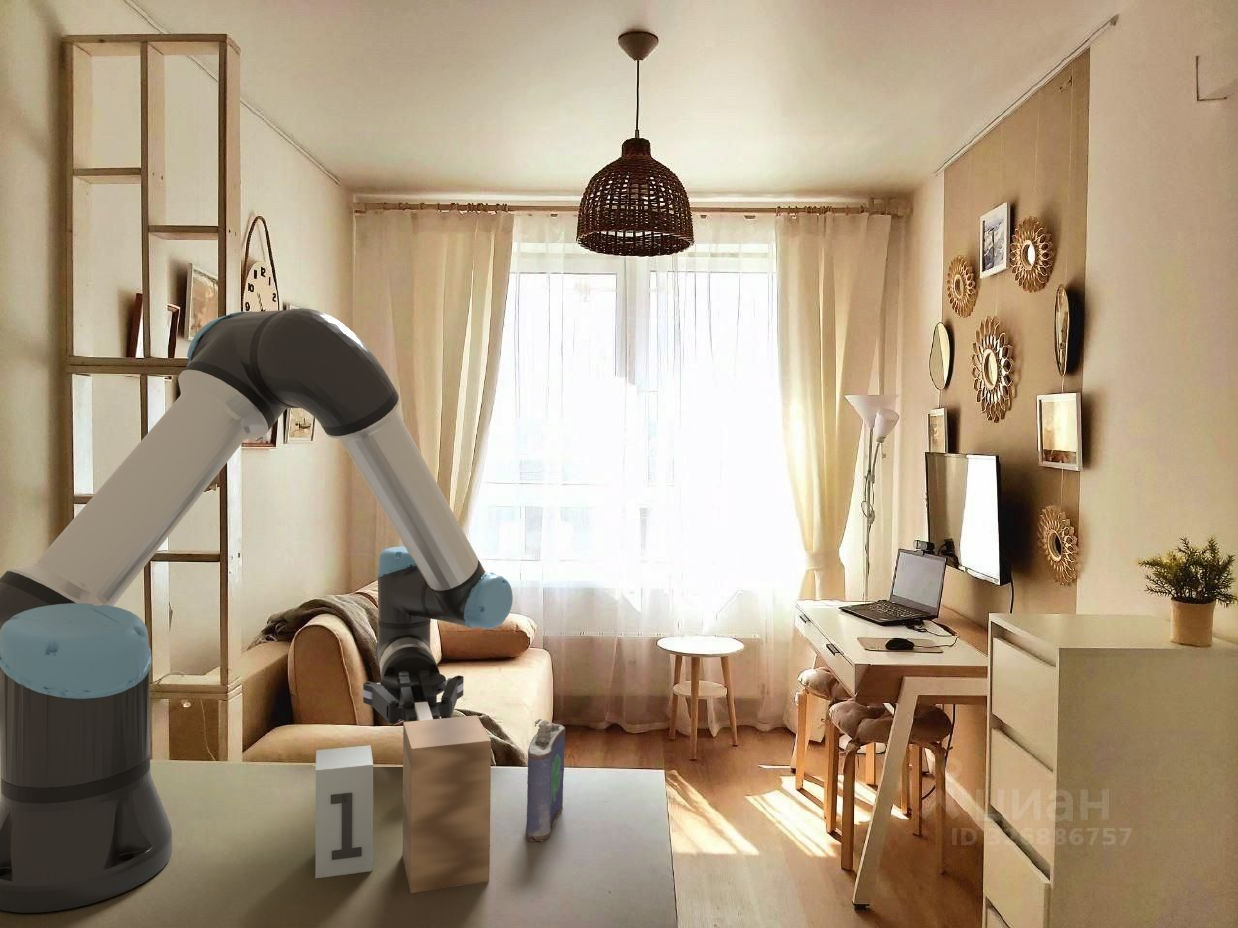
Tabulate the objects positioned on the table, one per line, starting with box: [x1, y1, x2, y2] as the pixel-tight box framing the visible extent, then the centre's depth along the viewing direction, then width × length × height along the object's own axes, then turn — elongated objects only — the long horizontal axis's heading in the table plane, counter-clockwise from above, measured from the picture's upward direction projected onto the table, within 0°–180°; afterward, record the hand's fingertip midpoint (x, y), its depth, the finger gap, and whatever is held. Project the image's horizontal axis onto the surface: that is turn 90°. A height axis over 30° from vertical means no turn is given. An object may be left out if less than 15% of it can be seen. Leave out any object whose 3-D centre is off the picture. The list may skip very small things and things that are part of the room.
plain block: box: [402, 715, 492, 894], centre depth 83 cm, size 7×7×13 cm
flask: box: [525, 718, 566, 843], centre depth 93 cm, size 9×3×11 cm, turn 172°
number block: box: [315, 744, 374, 879], centre depth 84 cm, size 5×5×10 cm
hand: (426, 732), depth 100 cm, fingers closed
